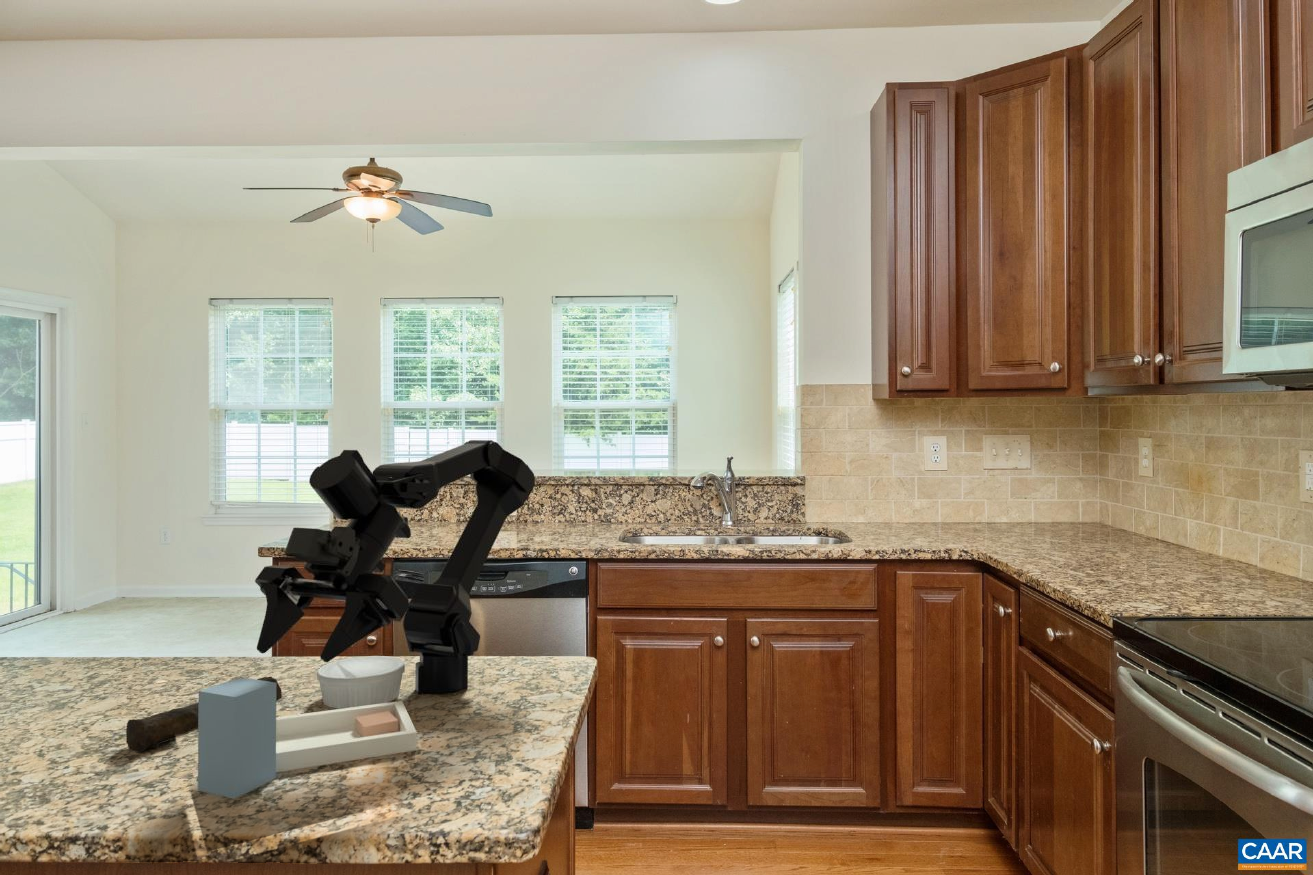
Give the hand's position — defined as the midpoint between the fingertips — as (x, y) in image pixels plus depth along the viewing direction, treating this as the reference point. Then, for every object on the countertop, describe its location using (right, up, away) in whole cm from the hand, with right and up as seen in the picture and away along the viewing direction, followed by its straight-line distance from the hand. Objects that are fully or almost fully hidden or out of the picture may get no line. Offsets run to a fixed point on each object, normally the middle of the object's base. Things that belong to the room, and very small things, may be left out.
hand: (291, 655), depth 87 cm
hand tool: (-16, -13, +13) cm, 24 cm away
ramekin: (0, -13, +21) cm, 25 cm away
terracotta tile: (+6, -12, +9) cm, 16 cm away
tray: (+3, -13, +5) cm, 14 cm away
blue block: (-3, -12, -6) cm, 14 cm away
